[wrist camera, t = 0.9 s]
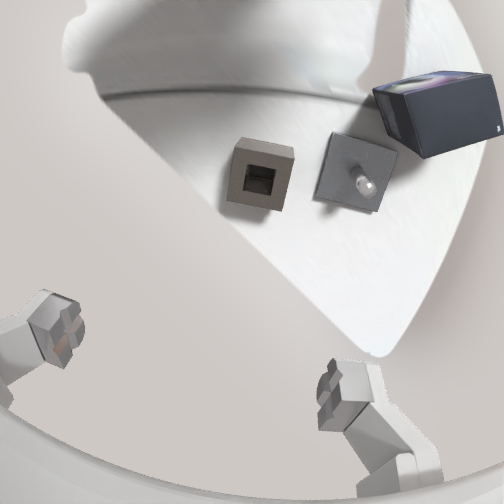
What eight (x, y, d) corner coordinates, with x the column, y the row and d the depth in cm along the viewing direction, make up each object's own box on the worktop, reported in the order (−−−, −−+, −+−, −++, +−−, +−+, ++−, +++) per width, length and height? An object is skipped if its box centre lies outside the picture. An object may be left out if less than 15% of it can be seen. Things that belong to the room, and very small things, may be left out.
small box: (443, 66, 24) (493, 71, 15) (457, 116, 27) (507, 136, 18) (369, 86, 27) (403, 91, 18) (387, 137, 30) (424, 163, 21)
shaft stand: (333, 131, 31) (342, 142, 26) (395, 150, 31) (414, 165, 26) (316, 193, 35) (321, 215, 30) (375, 208, 35) (388, 232, 30)
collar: (241, 137, 32) (234, 147, 28) (293, 147, 32) (294, 158, 28) (233, 184, 36) (226, 200, 32) (282, 194, 36) (281, 211, 32)
